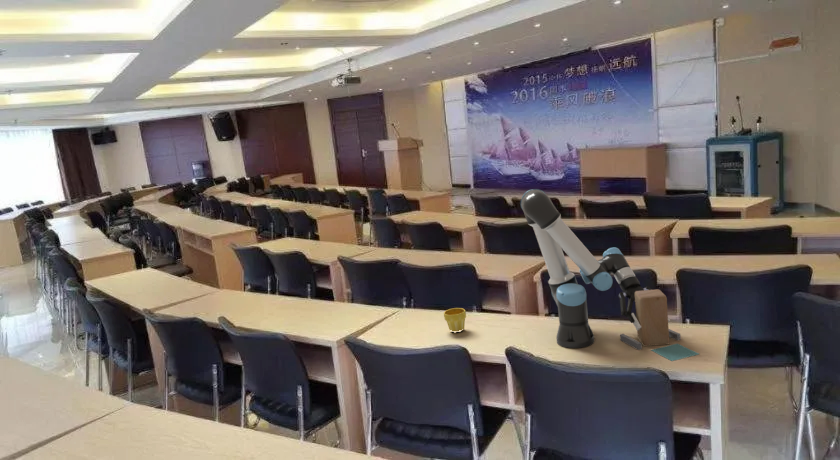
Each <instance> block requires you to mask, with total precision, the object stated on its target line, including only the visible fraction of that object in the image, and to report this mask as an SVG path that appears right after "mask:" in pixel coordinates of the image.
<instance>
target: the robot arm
mask: <svg viewBox="0 0 840 460" xmlns="http://www.w3.org/2000/svg"><path fill="white" fill-rule="evenodd" d="M520 208H521V210H522V211H523V213H524V214H523V215H524V216H525V220H526V223H527V225H529V226H530V227H532V229H533V231H534V234H535V238H536V240H537V243H538V247H539V249H540V252H541V255H542V257H543V260H544V263H545V266H546V269H547V272H548V275H549V277H550V278H549V280H547V283H548V286H549V287H550V291H551V296H552V299H553V300H554V302H555V304H556V306H557V311H558V312H557V313H558V322H559V323H558V324H559V325H558V329H557V333H556V343H557V344H558V345H559V346H561V347H564V348H569V349H582V348H587V347H590V346H591V345H593V344H594V343H595V335H594V332H593V331H592V328H591V326H590V324H589V323H590V322H589V317H588V316H589V315H588V303H587V297H588V296H587V292H586V289H585V287H584V286H583V285H581V284H578V281H577V278H576V275H575V273H573V272H571V270H570V268H569V266H568V263H567V259H566V257H565V254H566V255H567V256H568V258H569V259H570V260H572V262H573V263H574V264H575V265H576V266H577V268H578V269H579V273H580V275H581V278H582V280H583V281H584V283H585V285H589V284H592V285H593V286H594V288H595V289H597V291H601V292H604V291H607V290H609V289H610V288H612V286H613V281H614V280H613V277H612V276H611V275H613V276H614V278H615V280H616V282H617V283H618V285H619V287H620V289H621V291H620V292H619V294H618V298H619V304H620V307H619V308H620V316H621V317H624V316H625V318H628V320H629V322H630V323H631V324H633V326H634V328H635V330H636V332H637V331H639V330H640V328H641V325H640V324H639V322H638V320H637V318H636V314H635V313H634V312H632V310H633V305H634V302H635V292H636V291H643V290H652V288H651V287H650V286H649V285H647V286H646V287H644V288H643V286H642V285H641V283H640V280H639V279H638V278H637V276H636V274H635V273H634V271H633V269H632V268H631V266H630V265H629V262H628V261H627V259H626V257H625V256H624V254H623V253H622V251H621V250H620V249H619V248H618V247H609V248H608V249H606V250H605V251H604V252H603V254H602V258H600V259H598V260H597V259H596V257H595V256H594V254H592V253H591V252H590V251H589V249H588V248H587V246H585V245H584V243H583V242H582V241H581V240H580V239H579V238H578V237H577V235H576V234H575V233H574V232H573V231H572V230H571V228H570V227H569V226H568V225H567V224H566V222H564V220H563V219H562V216H561V213H560V212H559V210H557V208H556V206H555V205H554V203H553V202H552V200H551V198H550V197H549V196H548V195H547V193H546V192H545V191H543V190H541V189H539V188H533V189H529V190H527V191H525V192H524V193H523V195H522V197H521V199H520ZM564 253H565V254H564ZM626 298H628V302H627V305H626ZM670 321H671V319H670V317H669V316H668V323H670Z"/></svg>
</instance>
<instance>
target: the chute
mask: <svg viewBox="0 0 840 460" xmlns="http://www.w3.org/2000/svg"><path fill="white" fill-rule="evenodd" d="M669 338H671V339H674V340H676V341H681V340H682V339H681V338H682V337H681V333H679V332H677V331H675V330H673V329H671V328H669ZM619 340H620V341H621V342H623V343H625V344H626V345H628V346H630V347H632V348H634V349H636V350H638V351H640V350H643V349H642V347H643V344H642V342H641V341H638V340H636V339H634V338H632V337H631V336H629V335H626V334H625V333H620V334H619Z"/></svg>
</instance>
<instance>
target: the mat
mask: <svg viewBox="0 0 840 460" xmlns="http://www.w3.org/2000/svg"><path fill="white" fill-rule="evenodd" d="M650 351H651V352H653V353H655V354H657V355H659V356H661V357H663V358H664V359H667V360H669V361H671V362H674V361H678V360H682V359H686V358H689V357H690V358H691V357H693V356H698V355H700V353H699V352H697V351H694V350H692V349H690V348H688V347H686V346H683V345H681V344H679V343H674V344H673V343H672V344H670V345H669V344H668V345H665V346H661V347H657V348H653V349H650Z"/></svg>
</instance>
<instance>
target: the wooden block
mask: <svg viewBox="0 0 840 460" xmlns="http://www.w3.org/2000/svg"><path fill="white" fill-rule="evenodd" d="M634 303H635V304H634V305H635V317H636V318H637V320H638V322H639V324H640V325H641V328H640V330H639V331H637V330H636V332H637V337H638V340H640V341H639V342H640V343H642V346H647V347H648V346H659V345H669V344H670V337H669V329H670V328H669V322H668V317H669V316H668V299H667V296H666V294H665V293H664V292H662V290H661V289H651V290H643V291H636V292H635V301H634Z"/></svg>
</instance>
